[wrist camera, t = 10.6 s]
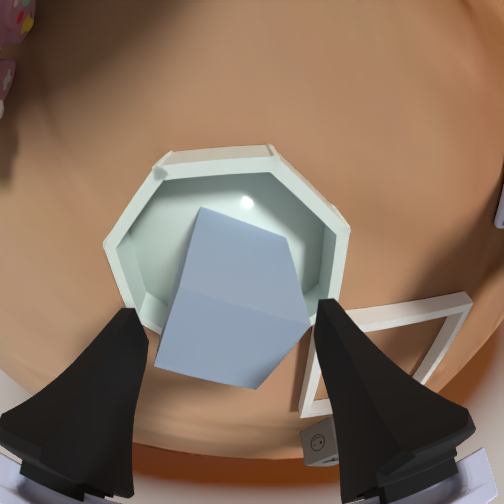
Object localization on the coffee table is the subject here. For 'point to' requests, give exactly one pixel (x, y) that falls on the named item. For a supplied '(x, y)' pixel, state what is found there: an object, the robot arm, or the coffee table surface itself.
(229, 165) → the ceramic dish
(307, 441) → the dice cube
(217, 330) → the slate block
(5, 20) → the video game controller
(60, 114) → the coffee table surface
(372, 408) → the robot arm
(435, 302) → the white flat frame piece
